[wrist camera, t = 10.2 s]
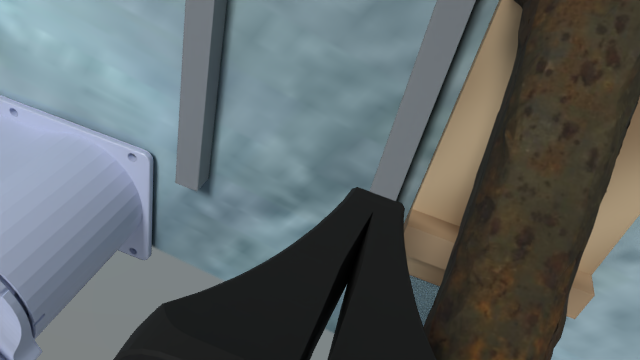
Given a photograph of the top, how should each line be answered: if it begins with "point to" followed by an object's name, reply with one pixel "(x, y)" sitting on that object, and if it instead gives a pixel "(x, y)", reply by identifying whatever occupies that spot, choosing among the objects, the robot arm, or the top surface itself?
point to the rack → (466, 155)
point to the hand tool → (540, 181)
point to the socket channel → (412, 116)
